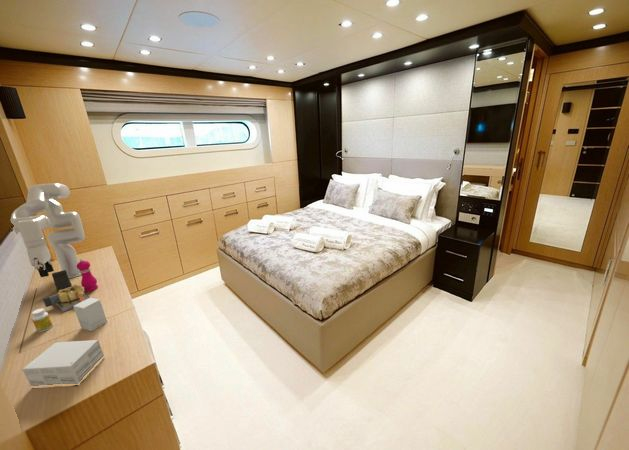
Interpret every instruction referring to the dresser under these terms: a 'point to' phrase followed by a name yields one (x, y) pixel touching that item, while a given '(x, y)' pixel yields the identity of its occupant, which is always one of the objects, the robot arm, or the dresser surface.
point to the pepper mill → (87, 276)
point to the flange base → (71, 302)
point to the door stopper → (61, 280)
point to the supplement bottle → (41, 320)
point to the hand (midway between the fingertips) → (47, 273)
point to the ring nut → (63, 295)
